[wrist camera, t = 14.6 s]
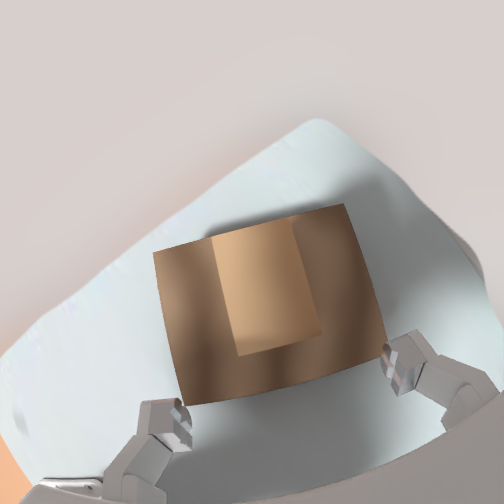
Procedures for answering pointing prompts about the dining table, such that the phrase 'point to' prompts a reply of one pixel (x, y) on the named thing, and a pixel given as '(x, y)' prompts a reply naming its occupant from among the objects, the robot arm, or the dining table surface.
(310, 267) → the walnut shelf
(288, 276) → the ochre block
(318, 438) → the dining table surface
